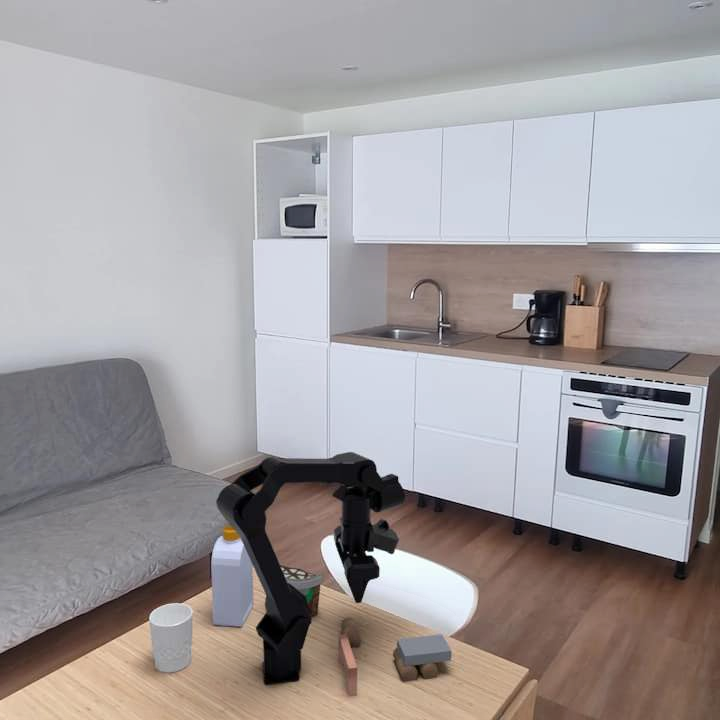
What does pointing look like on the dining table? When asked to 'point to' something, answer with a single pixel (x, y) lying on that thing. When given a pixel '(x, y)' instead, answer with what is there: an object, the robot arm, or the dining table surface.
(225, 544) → the soap bottle
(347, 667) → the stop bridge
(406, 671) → the roller
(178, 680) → the dining table surface
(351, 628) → the roller
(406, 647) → the slab
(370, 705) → the dining table surface
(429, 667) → the roller
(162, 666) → the white cup
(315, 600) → the food container
